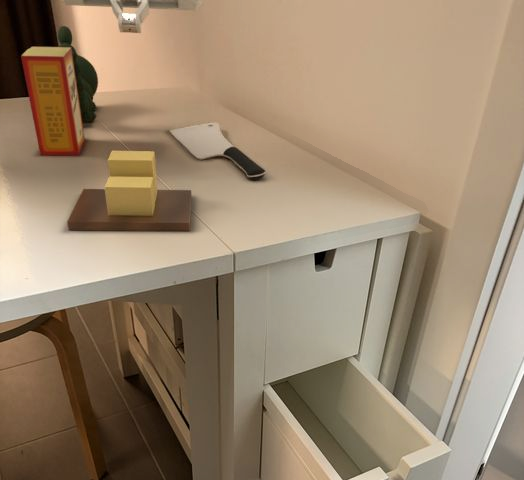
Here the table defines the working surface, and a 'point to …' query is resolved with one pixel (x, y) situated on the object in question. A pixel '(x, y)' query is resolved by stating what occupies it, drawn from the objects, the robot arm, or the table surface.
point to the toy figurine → (81, 77)
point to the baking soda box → (54, 99)
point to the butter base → (133, 165)
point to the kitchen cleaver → (215, 147)
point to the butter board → (164, 217)
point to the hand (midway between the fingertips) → (129, 29)
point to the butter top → (130, 196)
